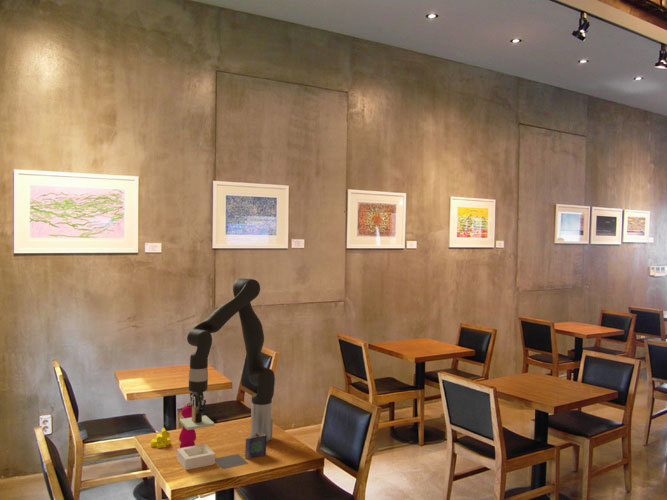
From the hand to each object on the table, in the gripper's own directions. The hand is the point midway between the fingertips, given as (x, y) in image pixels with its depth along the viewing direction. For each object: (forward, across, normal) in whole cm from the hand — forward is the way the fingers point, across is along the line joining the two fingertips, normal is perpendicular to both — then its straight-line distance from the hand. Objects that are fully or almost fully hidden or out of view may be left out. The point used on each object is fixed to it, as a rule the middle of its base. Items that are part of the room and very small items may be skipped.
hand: (197, 420), depth 209 cm
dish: (+17, 0, 0) cm, 17 cm away
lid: (+1, 0, 0) cm, 1 cm away
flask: (+17, -6, -24) cm, 30 cm away
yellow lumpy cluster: (+17, +25, +8) cm, 31 cm away
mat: (+17, -6, -12) cm, 22 cm away
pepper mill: (+17, +17, -2) cm, 24 cm away
